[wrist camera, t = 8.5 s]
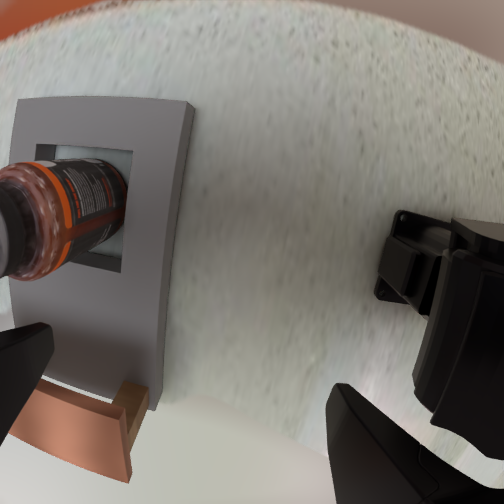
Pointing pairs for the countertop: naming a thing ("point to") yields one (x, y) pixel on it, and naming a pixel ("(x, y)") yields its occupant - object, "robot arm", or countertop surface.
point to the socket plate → (134, 242)
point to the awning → (84, 426)
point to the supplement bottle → (56, 213)
